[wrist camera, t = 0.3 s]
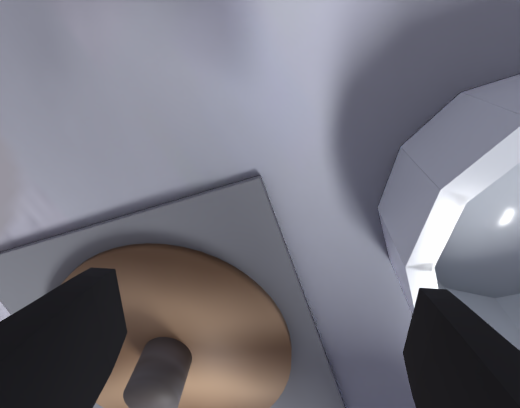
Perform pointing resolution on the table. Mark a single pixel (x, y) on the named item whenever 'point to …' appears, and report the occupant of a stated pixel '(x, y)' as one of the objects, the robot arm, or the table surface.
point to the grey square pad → (201, 239)
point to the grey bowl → (461, 206)
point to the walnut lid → (192, 332)
